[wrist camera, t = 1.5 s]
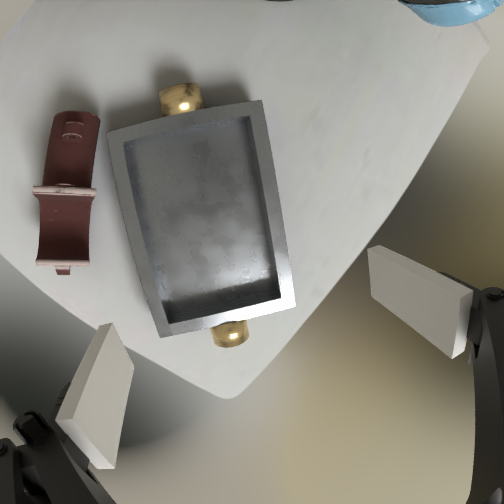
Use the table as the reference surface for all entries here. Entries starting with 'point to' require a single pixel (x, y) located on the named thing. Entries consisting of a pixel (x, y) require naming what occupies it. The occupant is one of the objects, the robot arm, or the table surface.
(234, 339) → the cradle
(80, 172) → the bracket
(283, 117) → the table surface
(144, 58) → the table surface
